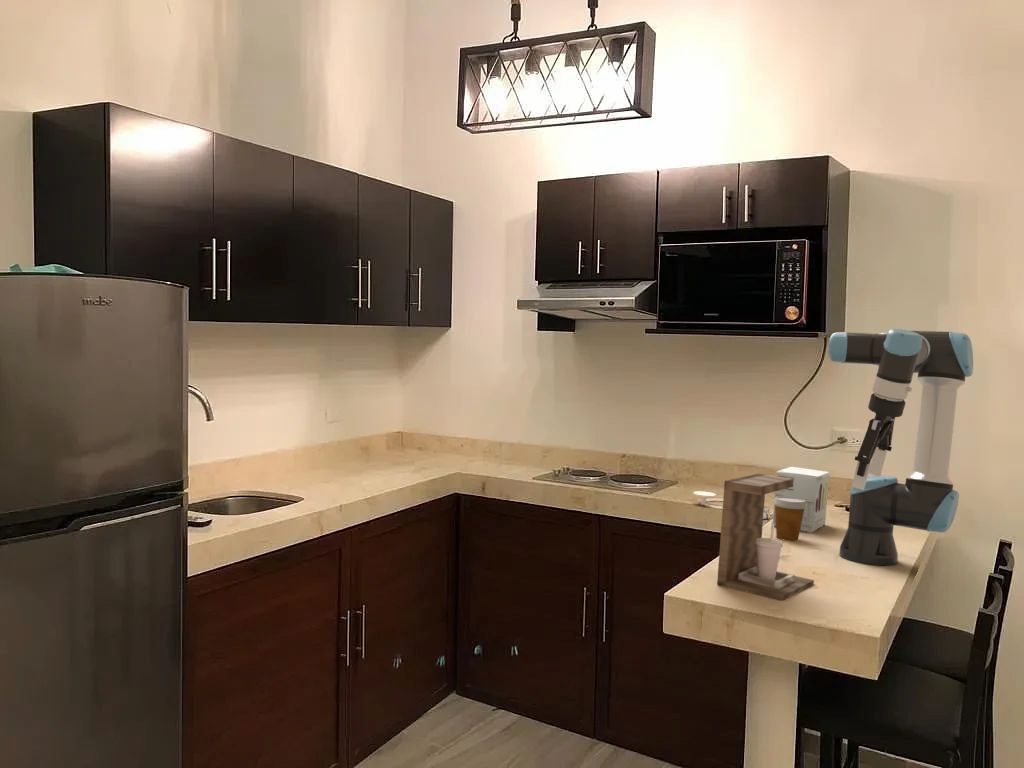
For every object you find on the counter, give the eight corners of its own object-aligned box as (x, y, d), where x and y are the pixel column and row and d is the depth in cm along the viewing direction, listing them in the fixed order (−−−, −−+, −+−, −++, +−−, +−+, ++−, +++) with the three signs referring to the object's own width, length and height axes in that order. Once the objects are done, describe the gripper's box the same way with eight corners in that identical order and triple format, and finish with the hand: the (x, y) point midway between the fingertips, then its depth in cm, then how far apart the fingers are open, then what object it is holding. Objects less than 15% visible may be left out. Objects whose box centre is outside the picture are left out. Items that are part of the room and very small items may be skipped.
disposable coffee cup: (807, 538, 265) (810, 499, 264) (798, 543, 257) (801, 503, 256) (776, 533, 270) (779, 495, 270) (766, 538, 262) (769, 498, 262)
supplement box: (813, 533, 274) (818, 476, 273) (771, 526, 281) (775, 470, 280) (826, 525, 288) (830, 471, 287) (786, 518, 295) (790, 465, 294)
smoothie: (781, 585, 206) (786, 526, 206) (754, 582, 208) (758, 524, 207) (778, 578, 213) (782, 521, 212) (751, 575, 214) (755, 519, 213)
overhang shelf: (751, 570, 223) (758, 473, 222) (813, 584, 213) (821, 483, 212) (717, 584, 208) (724, 480, 206) (782, 600, 198) (790, 491, 196)
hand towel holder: (757, 500, 305) (700, 497, 303) (756, 512, 305) (699, 510, 303) (740, 491, 322) (686, 488, 320) (739, 502, 322) (685, 500, 320)
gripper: (891, 410, 189) (867, 499, 195) (918, 392, 208) (896, 474, 214) (856, 400, 193) (833, 488, 199) (886, 384, 212) (865, 464, 218)
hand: (866, 481), depth 207 cm, fingers open, 13 cm apart
